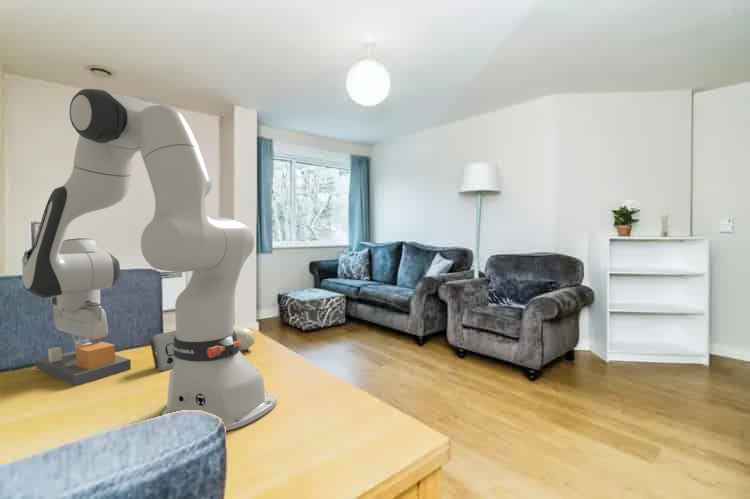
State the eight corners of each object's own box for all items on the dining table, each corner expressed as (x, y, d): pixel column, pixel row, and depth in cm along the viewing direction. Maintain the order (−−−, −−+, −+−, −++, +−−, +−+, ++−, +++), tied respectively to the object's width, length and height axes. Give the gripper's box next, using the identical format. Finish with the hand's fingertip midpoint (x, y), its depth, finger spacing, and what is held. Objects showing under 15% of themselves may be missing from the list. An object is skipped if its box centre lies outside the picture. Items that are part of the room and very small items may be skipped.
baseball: (249, 354, 108) (248, 332, 108) (225, 353, 109) (225, 330, 109) (259, 347, 115) (259, 326, 114) (236, 346, 116) (236, 325, 115)
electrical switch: (160, 372, 94) (158, 336, 94) (148, 370, 97) (146, 335, 97) (194, 361, 102) (191, 327, 102) (182, 359, 105) (180, 327, 105)
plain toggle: (62, 359, 95) (61, 348, 95) (52, 362, 93) (51, 350, 93) (58, 358, 96) (57, 347, 96) (48, 360, 94) (48, 349, 94)
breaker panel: (130, 369, 96) (130, 357, 96) (75, 386, 86) (75, 372, 85) (90, 355, 106) (90, 345, 105) (36, 369, 95) (36, 357, 95)
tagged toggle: (93, 354, 99) (92, 343, 99) (84, 356, 97) (83, 345, 97) (89, 353, 100) (88, 342, 100) (80, 355, 98) (80, 344, 98)
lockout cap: (115, 362, 94) (114, 344, 94) (88, 370, 89) (88, 351, 88) (102, 358, 97) (102, 341, 96) (76, 365, 91) (75, 347, 91)
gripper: (114, 301, 97) (115, 353, 98) (75, 294, 107) (76, 341, 108) (86, 305, 92) (88, 360, 92) (47, 297, 101) (49, 347, 102)
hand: (81, 350), depth 100 cm, fingers closed
